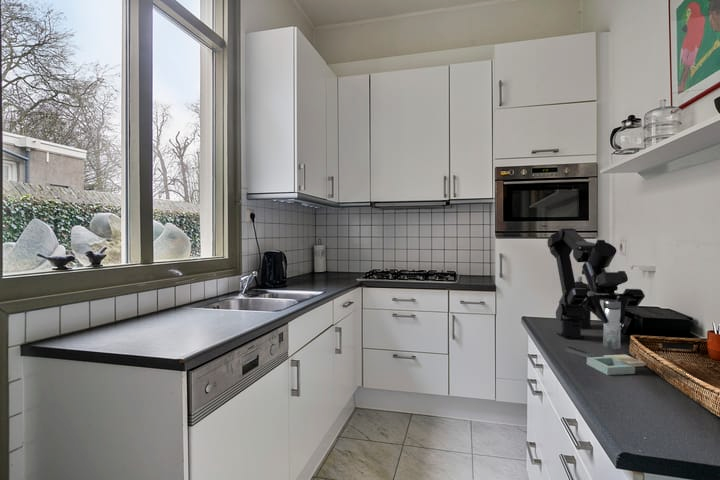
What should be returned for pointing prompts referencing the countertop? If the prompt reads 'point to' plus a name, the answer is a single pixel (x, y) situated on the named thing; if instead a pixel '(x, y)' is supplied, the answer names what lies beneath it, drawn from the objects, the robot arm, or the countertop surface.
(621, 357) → the beige square plate
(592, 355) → the bar
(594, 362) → the socket
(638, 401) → the countertop surface
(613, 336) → the grey round peg
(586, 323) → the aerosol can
